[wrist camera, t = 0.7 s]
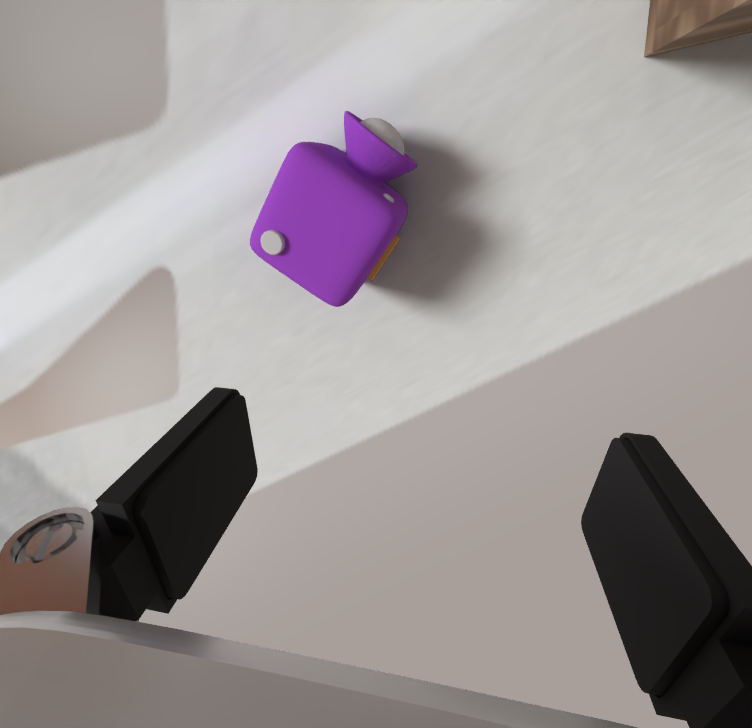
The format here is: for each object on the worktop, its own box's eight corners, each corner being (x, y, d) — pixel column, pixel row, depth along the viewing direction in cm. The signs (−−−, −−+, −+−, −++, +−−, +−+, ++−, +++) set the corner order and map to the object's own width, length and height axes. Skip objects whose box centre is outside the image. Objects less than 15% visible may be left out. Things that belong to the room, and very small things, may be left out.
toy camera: (441, 149, 32) (437, 143, 23) (379, 291, 39) (358, 328, 30) (324, 92, 32) (276, 65, 23) (282, 246, 38) (232, 270, 30)
